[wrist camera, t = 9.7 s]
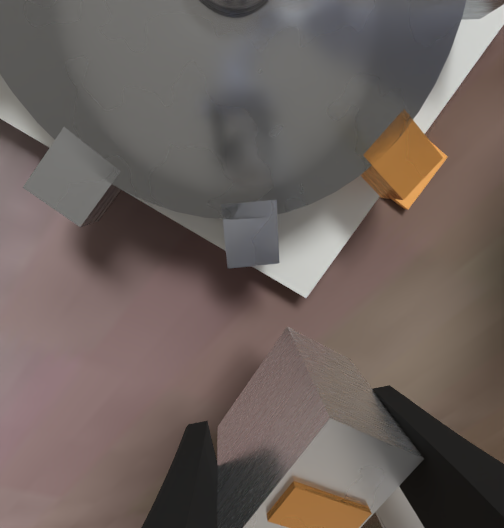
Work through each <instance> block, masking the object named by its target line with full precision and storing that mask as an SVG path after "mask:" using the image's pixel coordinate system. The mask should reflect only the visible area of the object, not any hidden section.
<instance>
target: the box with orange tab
mask: <svg viewBox="0 0 504 528" xmlns="http://www.w3.org/2000/svg"><path fill="white" fill-rule="evenodd" d="M423 460H424V458H423V457H422V456H421V454H420V453H419V452H418V450H417V449H416V447H415V446H414V445H413V443H412V442H411V441H410V439H409V438H408V437H407V435H406V434H405V433H404V431H403V430H402V429H401V427H400V426H399V424H398V423H397V422H396V420H395V419H394V418H393V417H392V415H391V414H390V413H389V411H388V410H387V409H386V407H385V406H384V405H383V403H382V402H381V400H380V399H379V398H378V396H377V395H376V394H375V392H374V391H373V390H372V388H371V387H370V385H369V384H368V382H367V381H366V380H365V378H364V377H363V376H362V374H361V373H360V372H359V370H358V369H357V368H356V366H355V365H354V363H353V362H352V361H351V359H349V358H347V357H345V356H343V355H341V354H339V353H338V352H336V351H334V350H332V349H330V348H328V347H326V346H324V345H322V344H320V343H318V342H316V341H314V340H312V339H310V338H308V337H307V336H305V335H303V334H301V333H299V332H297V331H295V330H293V329H291V328H289V327H286V329H285V330H284V332H283V333H282V335H281V336H280V337H279V339H278V340H277V342H276V343H275V345H274V346H273V348H272V349H271V350H270V352H269V353H268V355H267V356H266V358H265V359H264V360H263V362H262V363H261V365H260V366H259V368H258V369H257V371H256V372H255V373H254V375H253V376H252V378H251V379H250V381H249V382H248V383H247V385H246V386H245V388H244V389H243V391H242V392H241V394H240V395H239V396H238V398H237V399H236V401H235V402H234V404H233V405H232V406H231V408H230V409H229V411H228V412H227V414H226V415H225V417H224V418H223V419H222V421H221V422H220V424H219V425H218V432H217V465H218V496H217V528H361V527H362V526H363V525H364V524H365V522H366V521H367V520H368V519H369V518H370V517H371V516H372V515H373V514H374V513H375V512H376V511H377V509H378V508H379V507H380V506H381V505H382V504H383V503H384V502H385V501H386V500H387V499H388V498H389V496H390V495H391V494H392V493H393V492H394V491H395V490H396V489H397V488H398V487H399V486H400V484H401V483H402V482H403V481H404V480H405V479H406V478H407V477H408V476H409V475H410V474H411V473H412V471H413V470H414V469H415V468H416V467H417V466H418V465H419V464H420V463H421V462H422V461H423Z"/></svg>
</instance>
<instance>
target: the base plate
mask: <svg viewBox="0 0 504 528" xmlns="http://www.w3.org/2000/svg"><path fill="white" fill-rule="evenodd" d="M503 25H504V4H503V5H502V6H500V7H499V8H497V9H495V10H494V11H492V12H491V13H489V14H487V15H486V16H484V17H482V18H481V19H464V20H461V22H460V25H459V28H458V31H457V34H456V37H455V40H454V42H453V45H452V48H451V51H450V54H449V56H448V58H447V60H446V62H445V64H444V66H443V69H442V71H441V73H440V75H439V77H438V79H437V82H436V84H435V85H434V87H433V89H432V91H431V92H430V94H429V96H428V97H427V99H426V101H425V102H424V104H423V106H422V107H421V109H420V111H419V112H418V114H417V115H416V116H415V118H414V119H413V120H414V122H415V123H416V124H417V126H418V127H419V128H420V129H421V131H422V132H423V133H424V134H425V133H426V131H427V130H428V129H429V127H430V126H431V124H432V123H433V122H434V120H435V119H436V117H437V116H438V115H439V113H440V112H441V111H442V109H443V108H444V106H445V105H446V104H447V102H448V101H449V99H450V98H451V97H452V95H453V94H454V93H455V91H456V90H457V88H458V87H459V86H460V84H461V83H462V81H463V80H464V79H465V77H466V76H467V74H468V73H469V72H470V70H471V69H472V68H473V66H474V65H475V63H476V62H477V61H478V59H479V58H480V56H481V55H482V54H483V52H484V51H485V49H486V48H487V47H488V45H489V44H490V43H491V41H492V40H493V38H494V37H495V36H496V34H497V33H498V31H499V30H500V29H501V27H502V26H503ZM0 119H2V120H3V121H5V122H7V123H9V124H10V125H12V126H14V127H15V128H17V129H19V130H20V131H22V132H24V133H26V134H27V135H29V136H31V137H32V138H34V139H36V140H38V141H39V142H41V143H43V144H44V145H46V146H48V147H49V148H50V147H51V145H52V144H53V142H54V141H55V140H54V139H53V138H52V137H51V136H50V135H49V134H48V133H47V132H46V131H45V130H44V129H43V128H42V127H41V126H40V125H39V124H38V123H37V122H36V120H35V119H34V118H33V117H32V116H31V114H30V113H29V112H28V111H27V109H26V108H25V107H24V106H23V105H22V103H21V102H20V101H19V100H18V98H17V97H16V96H15V95H14V94H13V92H12V91H11V90H10V88H9V87H8V85H7V84H6V82H5V81H4V79H3V78H2V76H1V75H0ZM431 143H432V142H431ZM432 144H433V143H432ZM433 146H434V147H435V148H436V150H437V151H438V152H439V153H440V155H441V156H442V157H443V159H442V160H441V161H440V162H439V163H438V164H437V165H436V166H435V167H434V168H433V169H432V170H431V171H430V172H429V173H428V175H427V176H426V177H425V178H424V179H423V180H422V181H421V182H420V183H419V184H418V185H417V186H416V187H415V188H414V189H413V190H412V192H411V193H410V194H409V195H408V196H407V197H406V198H405V199H404V200H398V199H392V200H393V201H395V202H396V203H397V204H398V205H400V206H401V207H402V208H404V209H407V210H408V209H409V208H410V206H411V205H412V204H413V202H414V201H415V200H416V198H417V197H418V196H419V194H420V193H421V192H422V190H423V189H424V188H425V186H426V185H427V184H428V182H429V181H430V180H431V178H432V177H433V176H434V174H435V173H436V172H437V170H438V169H439V168H440V166H441V165H442V164H443V162H444V161H445V160H446V158H447V156H446V155H445V154H444V153H443V152H442V151H441V150H439V149H438V148H437V147H436V146H435V145H434V144H433ZM124 192H125V191H124ZM126 193H127V192H126ZM128 194H129V195H131V196H133V197H135V198H136V199H138V200H140V201H141V202H143V203H145V204H147V205H148V206H150V207H152V208H153V209H155V210H157V211H158V212H160V213H162V214H164V215H165V216H167V217H169V218H170V219H172V220H174V221H175V222H177V223H179V224H181V225H182V226H184V227H186V228H187V229H189V230H191V231H193V232H194V233H196V234H198V235H199V236H201V237H203V238H204V239H206V240H208V241H210V242H211V243H213V244H215V245H216V246H218V247H220V248H221V249H223V250H225V251H226V247H225V237H224V227H223V219H217V218H204V217H199V216H194V215H189V214H184V213H179V212H175V211H172V210H169V209H166V208H163V207H160V206H157V205H154V204H151V203H148V202H146V201H144V200H142V199H140V198H138V197H136V196H134V195H132V194H130V193H128ZM379 197H380V196H379V195H378V194H377V193H376V192H375V191H374V189H373V188H372V187H371V186H370V185H369V184H368V183H367V182H366V181H365V180H364V179H363V178H362V177H361V175H360V176H359V177H357V178H356V179H354V180H353V181H351V182H350V183H348V184H347V185H345V186H344V187H342V188H341V189H339V190H338V191H336V192H334V193H332V194H330V195H328V196H326V197H324V198H322V199H320V200H318V201H316V202H314V203H312V204H310V205H307V206H304V207H301V208H298V209H295V210H292V211H289V212H286V213H281V214H277V216H278V240H279V263H278V264H268V265H259V266H252V267H254V268H256V269H257V270H259V271H261V272H262V273H264V274H266V275H267V276H269V277H271V278H273V279H274V280H276V281H278V282H279V283H281V284H283V285H284V286H286V287H288V288H290V289H291V290H293V291H295V292H296V293H298V294H300V295H302V296H303V297H305V298H307V296H308V295H309V294H310V292H311V291H312V290H313V288H314V287H315V285H316V284H317V283H318V281H319V280H320V278H321V277H322V276H323V274H324V273H325V272H326V270H327V269H328V267H329V266H330V265H331V263H332V262H333V260H334V259H335V258H336V256H337V255H338V253H339V252H340V251H341V249H342V248H343V247H344V245H345V244H346V242H347V241H348V240H349V238H350V237H351V235H352V234H353V233H354V231H355V230H356V228H357V227H358V226H359V224H360V223H361V222H362V220H363V219H364V217H365V216H366V215H367V213H368V212H369V210H370V209H371V208H372V206H373V205H374V204H375V202H376V201H377V199H378V198H379Z"/></svg>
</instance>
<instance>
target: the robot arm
mask: <svg viewBox="0 0 504 528" xmlns="http://www.w3.org/2000/svg"><path fill="white" fill-rule="evenodd" d="M372 390H373V391H374V392H375V394H376V395H377V396H378V398H379V399H380V400H381V402H382V403H383V405H384V406H385V407H386V409H387V410H388V411H389V413H390V414H391V415H392V417H393V418H394V419H395V420H396V422H397V423H398V424H399V426H400V427H401V429H402V430H403V431H404V433H405V434H406V435H407V437H408V438H409V439H410V441H411V442H412V443H413V445H414V446H415V447H416V449H417V450H418V452H419V453H420V454H421V456H422V457H423V458H424V460H423V461H422V462H421V463H420V464H419V465H418V466H417V467H416V468H415V469H414V470H413V471H412V473H411V474H410V475H409V476H408V477H407V478H406V479H405V480H404V481H403V482H402V483H401V484H400V486H399V487H400V489H401V490H402V492H403V493H404V495H405V497H406V498H407V500H408V502H409V503H410V505H411V507H412V508H413V510H414V512H415V513H416V515H417V516H418V518H419V520H420V521H421V523H422V525H423V526H424V528H504V464H503V463H501V462H500V461H498V460H497V459H495V458H493V457H492V456H490V455H489V454H487V453H485V452H484V451H482V450H481V449H479V448H478V447H476V446H475V445H473V444H472V443H470V442H469V441H467V440H466V439H464V438H463V437H461V436H460V435H458V434H457V433H455V432H454V431H453V430H451V429H450V428H448V427H447V426H445V425H444V424H442V423H441V422H440V421H438V420H437V419H435V418H434V417H433V416H431V415H430V414H428V413H427V412H426V411H424V410H423V409H421V408H420V407H419V406H417V405H416V404H415V403H413V402H412V401H410V400H409V399H408V398H406V397H405V396H404V395H402V394H401V393H399V392H398V391H397V390H395V389H394V388H392V387H391V386H390V385H389V386H384V387H379V388H374V389H372ZM217 496H218V465H217V460H216V456H215V452H214V447H213V443H212V439H211V435H210V430H209V426H208V422H207V421H204V422H199V423H194V424H189V425H188V426H187V427H186V429H185V432H184V435H183V437H182V440H181V442H180V445H179V448H178V450H177V452H176V455H175V457H174V460H173V462H172V464H171V467H170V469H169V471H168V474H167V476H166V478H165V480H164V482H163V485H162V487H161V489H160V491H159V493H158V495H157V498H156V500H155V502H154V504H153V506H152V508H151V510H150V512H149V514H148V516H147V518H146V520H145V522H144V524H143V526H142V528H217Z"/></svg>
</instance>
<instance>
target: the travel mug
mask: <svg viewBox="0 0 504 528" xmlns="http://www.w3.org/2000/svg"><path fill="white" fill-rule="evenodd" d="M375 513H376V515H377V517H378V519H379V521H380V524H381V526H382V528H424V526H423V525H422V523H421V521H420V520H419V518H418V516H417V515H416V513H415V512H414V510H413V508H412V507H411V505H410V503H409V502H408V500H407V498H406V497H405V495H404V493H403V492H402V490H401V489H400V487H398V488H397V489H396V490H395V491H394V492H393V493H392V494H391V495H390V496H389V498H388V499H387V500H386V501H385V502H384V503H383V504H382V505H381V506H380V507H379V508H378V509H377V511H376V512H375Z"/></svg>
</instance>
